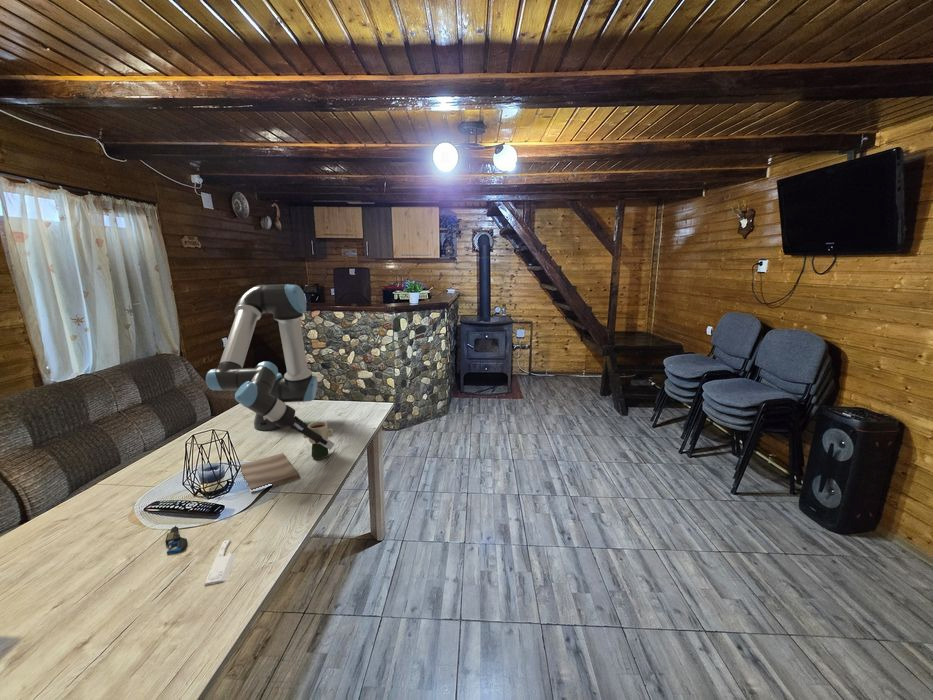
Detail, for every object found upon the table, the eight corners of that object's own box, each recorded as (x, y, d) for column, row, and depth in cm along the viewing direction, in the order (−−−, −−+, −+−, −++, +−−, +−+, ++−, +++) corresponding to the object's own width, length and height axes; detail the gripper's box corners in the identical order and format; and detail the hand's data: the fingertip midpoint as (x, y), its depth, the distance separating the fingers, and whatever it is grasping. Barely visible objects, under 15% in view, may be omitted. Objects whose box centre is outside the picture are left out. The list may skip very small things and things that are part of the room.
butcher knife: (244, 540, 107) (244, 536, 107) (229, 582, 93) (228, 578, 93) (223, 543, 105) (223, 539, 105) (204, 587, 91) (203, 582, 91)
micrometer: (184, 546, 102) (160, 552, 100) (185, 552, 103) (162, 559, 100) (190, 519, 112) (169, 525, 110) (191, 525, 113) (170, 531, 111)
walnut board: (239, 468, 144) (238, 465, 143) (283, 456, 153) (283, 452, 152) (251, 493, 128) (250, 488, 128) (299, 477, 137) (299, 473, 137)
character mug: (336, 451, 157) (334, 420, 154) (333, 460, 150) (330, 427, 147) (307, 453, 155) (304, 422, 153) (303, 462, 148) (299, 429, 146)
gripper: (265, 414, 147) (313, 442, 160) (279, 431, 132) (331, 461, 145) (279, 397, 149) (325, 426, 163) (295, 412, 134) (344, 443, 147)
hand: (328, 443), depth 154 cm, fingers open, 7 cm apart
